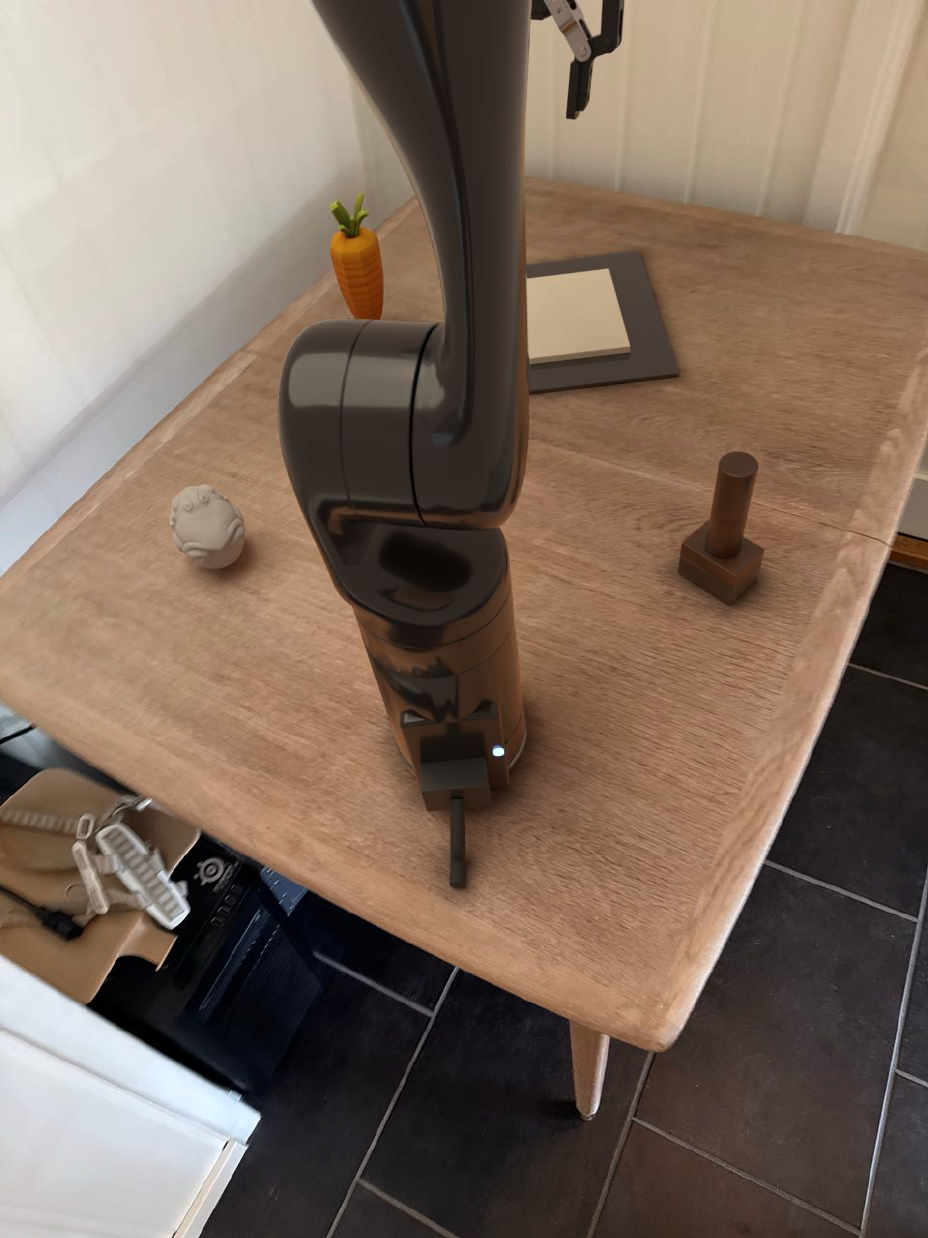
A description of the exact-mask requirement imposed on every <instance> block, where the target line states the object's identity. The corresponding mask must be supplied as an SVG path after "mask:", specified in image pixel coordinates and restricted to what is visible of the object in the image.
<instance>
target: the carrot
mask: <svg viewBox="0 0 928 1238" xmlns="http://www.w3.org/2000/svg"><path fill="white" fill-rule="evenodd" d="M364 197H365V194H364V193H362V192H359V193H357V194H356V197H355V201H354V207H353V208H354V209H353V216H350V214H349V212H348V210H347V209H346V208H345V207H344V205H343V204H342V203H341V201H340V200H335V201H334V202H332V203H331V204H330V205H329V208H330V211H331V213H332V215H333V216H334V218H335V220H336V222H337V223H338V225H337V226H336V228H337V230H338V231H337V232H336V233H334V234H333V236H332V237H331V241H330V245H329V255H330V259H331V263H332V267H333V270H334V275H335V277H336V280H337V284H338V287H339V290H340V292H341V295H342V297H343V299H344V302H345V303H346V305H347V307H348V310H349V312H350V313H351V315H352V316H353V319H370V320H382V314H383V309H384V297H385V296H384V295H385V294H384V291H385V289H384V288H385V287H384V286H385V285H384V284H385V282H384V269H383V263H382V256H381V249H380V243H379V238H378V236H377V234H376V233H375V232H373V231H372V230H370V229H368V228H367V227H364V226H362V222H363V221H364V219H365V218H367V217H369V216H370V213H369V211H368V210H366V209H362V205H363V202H364Z"/></svg>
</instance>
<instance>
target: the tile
mask: <svg viewBox="0 0 928 1238" xmlns="http://www.w3.org/2000/svg"><path fill="white" fill-rule="evenodd" d="M526 269H527V311H528V352H529V395H533V394H539V393H540V394H541V393H548V392H558V391H566V390H574V389H575V390H576V389H584V388H592V387H600V386H607V385H609V386H610V385H616V384H626V383H635V382H642V381H650V380H652V381H653V380H661V379H667V378H677V377H679V375H680V372H679V369H678V366H677V363H676V360H675V357H674V355H673V351H672V348H671V345H670V342H669V339H668V336H667V333H666V330H665V327H664V324H663V320H662V318H661V315H660V311H659V308H658V305H657V303H656V298H655V297H654V293H653V290H652V287H651V283H650V280H649V278H648V275H647V272H646V269H645V265H644V262H643V260H642V256H641V253H640V251H639V250H635V251H627V252H618V253H611V254H602V255H595V256H586V257H579V258H571V259H564V260H555V261H547V262H539V263H531V264H526Z"/></svg>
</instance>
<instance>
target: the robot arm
mask: <svg viewBox="0 0 928 1238" xmlns="http://www.w3.org/2000/svg"><path fill="white" fill-rule="evenodd" d="M601 2H602V3H601V21H600V33H598V34H596V35H593V34H592V32H591V30H590V28H589V26H588V24H587V22H586V20H585V16H584V14H583V11H582V9H581V7H580V5H579V3H578V1H577V0H309V3H310V5H311V8H312V9H313V11H314V13H315V15H316V17H317V18H318V20H319V22H320V24H321V26H322V27H323V29H324V31H325V33H326V35H327V37H328V39H329V40H330V42H331V45H332V47H334V49H335V51H336V53H337V54H338V56H339V58H340V60H341V61H342V63H343V65H344V66H345V68H346V70H347V72H348V73H349V75H350V77H351V78H352V80H353V82H354V83H355V85H356V86H357V88H358V90H359V91H360V93H361V95H362V96H363V98H364V100H365V102H366V103H367V105H368V107H369V108H370V110H371V112H372V113H373V115H374V117H375V118H376V120H377V121H378V124H379V125H380V126H381V128H382V130H383V132H384V134H385V135H386V137H387V139H388V140H389V143H390V145H391V146H392V148H393V150H394V152H395V154H396V156H397V158H398V159H399V162H400V164H401V166H402V169H403V170H404V172H405V175H406V177H407V179H408V181H409V183H410V186H411V188H412V191H413V192H414V195H415V197H416V199H417V202H418V204H419V206H420V210H421V212H422V215H423V218H424V221H425V224H426V228H427V231H428V235H429V238H430V241H431V246H432V249H433V254H434V258H435V263H436V267H437V273H438V279H439V285H440V286H439V287H440V291H441V300H442V305H443V306H442V308H443V317H444V321H429V320H428V321H426V320H425V321H423V320H402V319H401V320H398V319H381V320H370V319H355V318H328V319H321V320H318V321H315V322H313V323H310V324H309V325H308V326H307V325H306V327H305V328H303V330H301V331H300V332H299V333H298V334H297V335H296V337H295V338H294V339H293V341H292V342H291V344H290V345H289V347H288V349H287V351H286V354H285V356H284V359H283V362H282V365H281V368H280V373H279V379H278V388H277V395H276V396H277V397H276V420H277V429H278V437H279V444H280V449H281V454H282V455H281V456H282V459H283V463H284V465H285V469H286V473H287V476H288V480H289V483H290V486H291V489H292V491H293V494H294V497H295V499H296V501H297V504H298V507H299V510H300V511H301V514H302V516H303V518H304V521H305V523H306V525H307V527H308V530H309V531H310V534H311V536H312V538H313V540H314V543H315V545H316V547H317V550H318V552H319V554H320V556H321V559H322V561H323V564H324V566H325V569H326V570H327V573H328V576H329V578H330V580H331V582H332V584H333V588H335V590H336V592H337V593H338V594H339V596H340V597H341V599H343V600H344V601H345V603H347V604H348V605H349V606H351V608H352V612H353V614H354V617H355V620H356V623H357V626H358V629H359V632H360V637H361V639H362V642H363V645H364V648H365V651H366V654H367V657H368V660H369V664H370V666H371V670H372V672H373V675H374V678H375V681H376V684H377V687H378V690H379V694H380V696H381V699H382V702H383V705H384V708H385V712H386V714H387V717H388V720H389V723H390V726H391V729H392V731H393V734H394V738H395V744H396V747H397V752H398V754H399V757H400V758H401V761H402V763H403V765H404V766H405V768H406V770H407V771H408V772H409V773H410V774H411V775H412V776H413V777H414V778H415V779H416V782H417V785H418V788H419V791H420V794H421V796H422V799H423V802H424V805H425V809H426V811H427V812H428V813H429V812H430V813H431V812H440V811H441V812H442V811H449V837H450V838H449V842H450V843H449V844H450V845H449V848H450V850H449V851H450V852H449V853H450V859H449V860H450V861H449V862H450V863H449V886H450V888H451V887H452V888H456V889H460V888H464V887H465V885H466V883H465V881H466V876H465V875H466V818H465V817H466V813H465V810H466V809H472V808H482V807H483V808H484V807H491V806H492V796H491V795H492V793H491V789H498V788H507V787H509V786H510V783H511V781H510V771H511V770H512V769H513V768H514V767H515V766H516V765H517V763H518V761H520V758H521V756H522V755H523V752H524V750H525V747H526V742H527V736H528V726H527V718H526V713H525V710H524V708H525V707H524V698H523V689H522V679H521V668H520V657H519V647H518V637H517V628H516V616H515V605H514V604H515V602H514V593H513V582H512V573H511V561H510V552H509V547H508V543H507V539H506V537H505V535H504V532H503V531H502V529H501V526H503V524H505V523H506V522H507V521H508V520H509V518H510V517H511V516H512V514H513V513H514V511H515V509H516V507H517V504H518V502H519V499H520V497H521V494H522V489H523V485H524V479H525V476H526V469H527V468H526V467H527V459H528V452H529V436H530V394H529V352H528V311H527V269H526V265H527V235H526V232H527V230H526V225H527V224H526V123H527V121H526V120H527V100H528V99H527V98H528V79H529V60H530V41H531V40H530V39H531V21H544V20H545V19H548V18H550V17H552V20H554V22H555V24H556V26H557V28H558V30H559V32H560V33H561V34H562V35H563V36H564V38H565V40H566V42H567V44H568V46H569V47H570V50H571V52H572V54H573V55H574V59H573V60H572V61H571V62H570V65H569V74H568V75H569V76H568V86H567V98H566V109H565V110H566V111H565V119H566V120H573V121H576V120H577V119H578V118H579V117H580V114H581V113H580V112H584V111H585V110H586V109H587V107H588V105H589V103H590V100H591V98H590V97H591V88H592V79H593V69H594V62H595V60H596V59H597V57H600V56H603V55H606V54H612V53H613V52H614V51H615V50H616V49H617V48H618V47H619V46H620V45H621V44H622V42H623V29H624V28H623V27H624V14H625V0H602V1H601Z"/></svg>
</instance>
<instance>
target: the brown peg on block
mask: <svg viewBox="0 0 928 1238" xmlns="http://www.w3.org/2000/svg"><path fill="white" fill-rule="evenodd" d="M758 472H759V461H758V459H757V458H756V457H755V456H754V455H752V454H751V453H749V452H746V451H738V450H736V451H735V450H734V451H730V452H727V453H725V454H724V455H723V456H721V458H720V460H719V462H718V468H717V474H716V478H715V479H716V480H715V485H714V492H713V496H712V497H713V498H712V503H711V508H710V514H709V518H708V519H707V520H706V521H704V523H703V524H701V525H700V526H699V527H698V528H697V529H696V530H695V531H694V532H692V533H691V534H690V535H689V536H687V538H686V539H684V540H683V541H682V542H681V547H680V554H679V560H678V567H677V574H679V575H680V576H681V577H684V578H685V579H686V580H689V581H690V582H691V583H693V584H695V585H696V586H697V587H699V588H701V589H703V591H705V592H706V593H709V594H710V595H712V596H713V597H715V598H716V599H718V600H720V601H721V602H722V603H724V604H726V605H727V606H730V605H732V604H733V603H734V602H735V601H736V600H737V599H738V598H739V597H740V596H741V595H742V594H743V593H745V591H746V590H748V589H749V588H750V587H751V586H752V585H753V584H754V583H755V582H757V580H758V578H759V574H760V570H761V566H762V561H763V557H764V554H765V548H764V547H762V546H760V545H759V544H757V543H756V542H754V541H752V540H750V539H749V538H746V537H745V536H744V535H745V531H746V525H747V522H748V518H749V517H748V516H749V513H750V508H751V502H752V498H753V494H754V489H755V485H756V480H757V476H758Z"/></svg>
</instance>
